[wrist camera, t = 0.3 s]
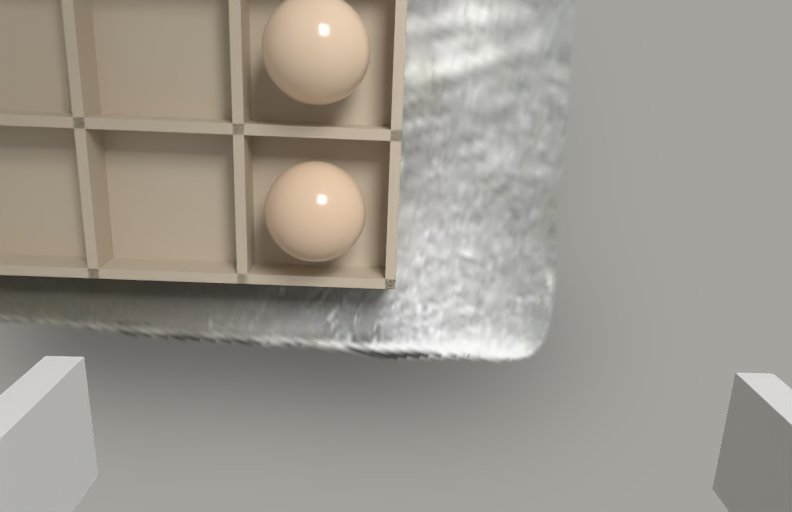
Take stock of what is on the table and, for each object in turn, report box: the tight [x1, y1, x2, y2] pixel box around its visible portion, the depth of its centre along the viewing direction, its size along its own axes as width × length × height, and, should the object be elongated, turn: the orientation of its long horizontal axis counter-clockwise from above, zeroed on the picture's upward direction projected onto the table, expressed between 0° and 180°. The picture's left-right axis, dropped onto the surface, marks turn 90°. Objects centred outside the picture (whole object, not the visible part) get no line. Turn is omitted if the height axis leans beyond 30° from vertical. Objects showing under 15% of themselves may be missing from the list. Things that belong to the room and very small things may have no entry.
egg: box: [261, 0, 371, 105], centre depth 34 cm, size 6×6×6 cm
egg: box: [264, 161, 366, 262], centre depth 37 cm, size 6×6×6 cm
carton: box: [0, 0, 407, 289], centre depth 37 cm, size 18×26×3 cm
